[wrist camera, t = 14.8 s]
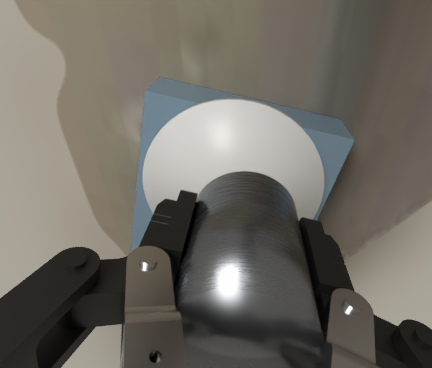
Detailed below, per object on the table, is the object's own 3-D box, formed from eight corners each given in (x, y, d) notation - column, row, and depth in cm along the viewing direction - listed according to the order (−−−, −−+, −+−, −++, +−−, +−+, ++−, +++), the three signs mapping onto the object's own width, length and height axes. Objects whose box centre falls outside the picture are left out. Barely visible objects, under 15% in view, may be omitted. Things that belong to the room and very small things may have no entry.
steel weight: (203, 160, 13) (171, 273, 8) (311, 185, 13) (352, 312, 8) (186, 242, 15) (153, 372, 10) (278, 262, 15) (292, 402, 10)
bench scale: (161, 63, 23) (124, 91, 17) (345, 106, 24) (384, 152, 17) (142, 232, 32) (113, 297, 25) (278, 262, 32) (285, 334, 25)
